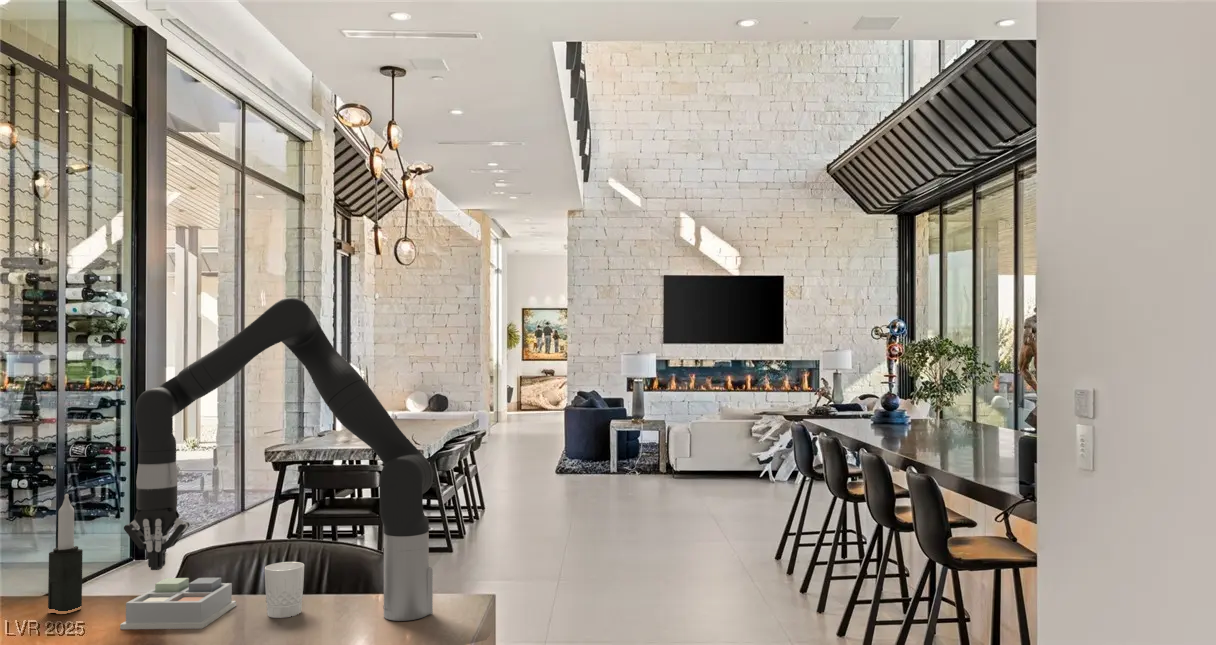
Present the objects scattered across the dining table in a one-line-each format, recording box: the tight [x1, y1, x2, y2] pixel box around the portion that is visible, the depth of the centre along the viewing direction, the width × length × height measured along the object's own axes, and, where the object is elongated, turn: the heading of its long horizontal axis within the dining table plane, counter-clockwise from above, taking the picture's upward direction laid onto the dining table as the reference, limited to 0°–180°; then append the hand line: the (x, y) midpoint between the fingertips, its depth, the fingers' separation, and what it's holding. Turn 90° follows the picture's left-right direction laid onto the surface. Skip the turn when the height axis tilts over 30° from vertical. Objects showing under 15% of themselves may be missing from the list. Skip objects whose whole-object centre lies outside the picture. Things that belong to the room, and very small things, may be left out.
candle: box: [47, 493, 84, 611], centre depth 192 cm, size 5×5×25 cm
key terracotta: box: [178, 597, 204, 601], centre depth 183 cm, size 5×5×3 cm
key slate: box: [189, 577, 222, 592], centre depth 190 cm, size 5×5×3 cm
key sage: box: [154, 577, 190, 592], centre depth 190 cm, size 5×5×3 cm
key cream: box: [143, 597, 170, 602], centre depth 183 cm, size 5×5×3 cm
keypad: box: [119, 582, 237, 630], centre depth 186 cm, size 16×16×5 cm
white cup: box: [264, 561, 305, 619], centre depth 188 cm, size 8×8×10 cm
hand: (156, 569), depth 183 cm, fingers closed
